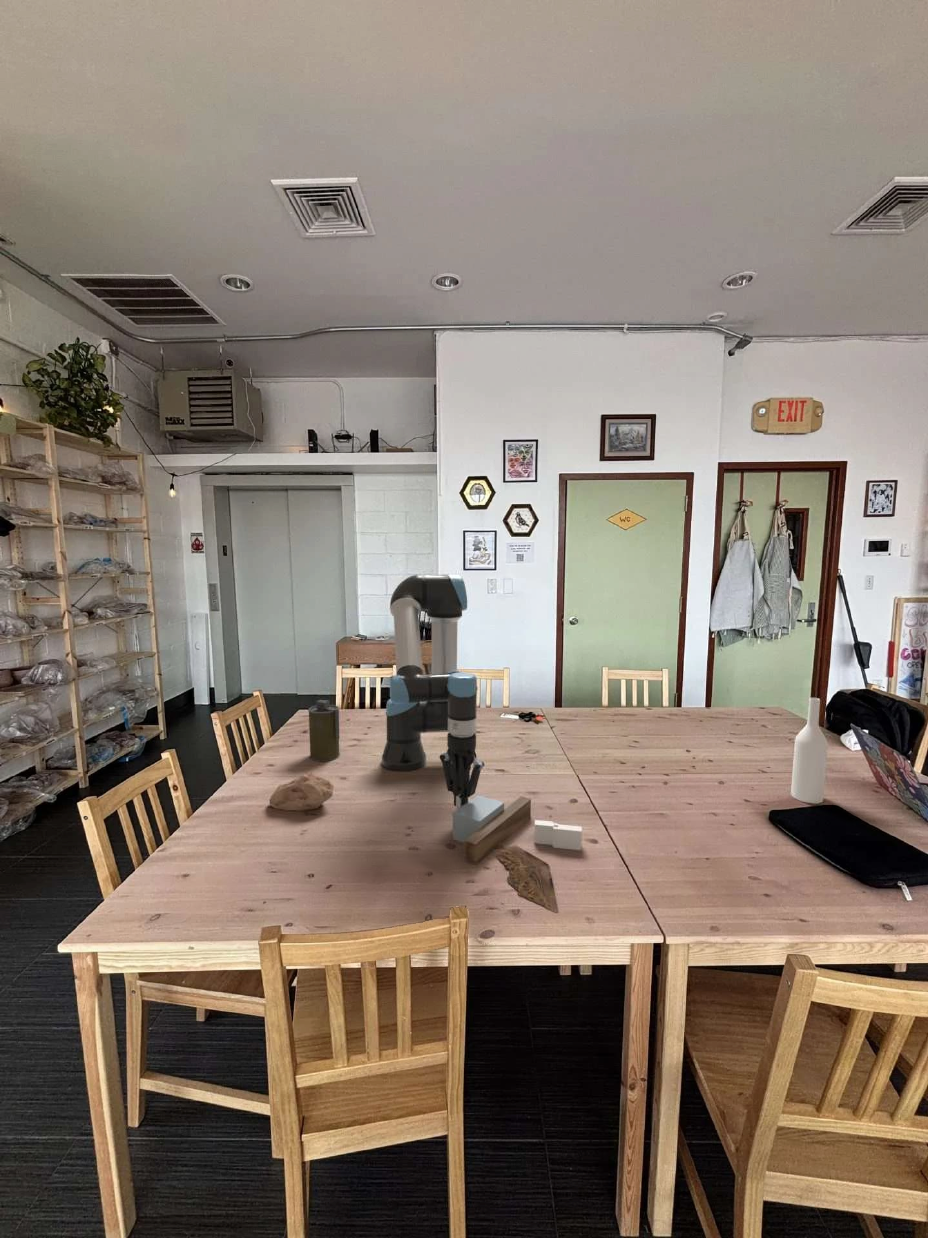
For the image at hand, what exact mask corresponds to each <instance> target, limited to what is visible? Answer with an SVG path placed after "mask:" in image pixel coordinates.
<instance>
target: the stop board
mask: <svg viewBox="0 0 928 1238" xmlns="http://www.w3.org/2000/svg"><path fill="white" fill-rule="evenodd" d="M531 807H532V799H531V798H529V797H526V796H521V795H520V796H519V797H518V798H517V799H515V800H514V801H512V803H510V804H509V805H507V807H506V808H505V807H504V810H503V811H502V812H500V813H499V814H498V815H497V816H495V817H494V818H493V819H492V820H490V821H489V822H488V823H486V824H485V825H484V826H483V827H481V828H480V829H479V830H478V831H476V832H475V833H474V834H472V835H471V836H470V837H469V838H467V839H466V840H465V843H464V861H465V862H467V863H470V864H472V865H477V864H479V862H480V861H481V860H483V859H484V858H485V857H486V856H487V855H488V854H489V853H491V852H492V851H493V850H494V849H495V848H497V847H498V846H499V844H501V843H502V842H503V841H504V840H505V839H507V838H508V837H509V836H510V835H511V834H512V833H514V831H516V830H517V829H518V828H520V826H521V825H523V823H525V822H526V821H527V820H528V819H530V817H531V815H532V814H531V813H532V812H531V809H532V808H531Z"/></svg>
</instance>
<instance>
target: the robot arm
mask: <svg viewBox="0 0 928 1238" xmlns="http://www.w3.org/2000/svg"><path fill="white" fill-rule="evenodd" d="M465 584H466V583H465V581H464V578H463V577H462V576H461V575H459V574H458V575H457V574H415V575H411V576H408V577H407V578H405V579H404V580H402V581H401V582H400V583H399V584H398V585H397V586H396V587H395V589H394V591H393V593H392V595H391V596H390V597H391V598H390V604H389V610H390V614H391V616H393V621H394V622H393V626H394V627H393V629H394V648H395V649H394V651H395V673H396V674H395V675H391V676H390V677H389V698H390V699H388V700H387V702H386V705H385V706H386V711H385V716H386V743H385V746H384V750H383V752H382V755H381V765H382V766H383V767H384V768H385V769H388V770H390V771H398V772H399V771H400V772H403V771H405V772H406V771H413V770H417V769H419V768H420V769H421V768H422V767H424V766H425V765H426V764H427V754H426V752H425V749H424V746H423V743H422V739H421V738H422V735H421V734H423V733H424V734H426V733H447V738H446V739H447V740H446V741H447V745H446V746H447V750H446V752H444V753H442V754H440V755H439V759H440V762H441V763H442V768H443V772H444V778H445V783H446V784H445V785H446V789H447V791H448V792H451V793H452V794H453V806H454V807H455V811H456V810H457V809H459V808H460V807H462V806H463V805H465V804H466V803H467V802H469V798H470V797H472V796H473V795H475V793H476V790H477V786H478V783H479V778H480V775H481V771H482V769H483V768H484V766H485V762H483V761H480V760H478V759H477V754H476V748H477V733H476V732H477V703H478V702H477V701H478V700H477V699H478V696H477V695H478V682H477V681H478V679H477V676H476V675H475V674H473V673H469V672H462V671H459V670H457V669H458V621H459V620H461V618H462V617H463V612H464V611H466V610H468V595H467V594H468V593H467V588H466V585H465ZM421 611H426V617H428V618H429V619H430V621H431V674H430V673H429V674H428V673H426V674H425V673H424V667H423V665H424V664H423V655H422V654H423V653H422V643H421V632H420V630H421V629H420V621H419V620H420V619H419V615H420V613H421ZM471 769H472V770H471ZM470 772H471V773H470Z"/></svg>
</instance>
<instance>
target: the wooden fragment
mask: <svg viewBox="0 0 928 1238" xmlns="http://www.w3.org/2000/svg"><path fill="white" fill-rule="evenodd" d="M495 858H496V859H497V860H499V861H500V863H502V864H503V866H504V869H505V870H507V871H508V873H509V875H508V876H507V878H506V879H507V882H508V884H509V885H511V886H512V888H514V889H515V890H516V892H517V895H518V896H519V897H521V898H523V899H525V900H527V901H528V902H529V901H530V902H533V903H535V904H538V905H540V906H541V907H544V908H545V909H546V910H548V911H549V912H552V913H556V914H557V913H558V914H559V906H558V902H557V897H556V893H555V892H556V891H555V887H554V886H555V885H554V882H553V877H552V872H551V867H550V865H549V864H548V863H547V862H546V861H544V860H542V859H540V858H538V857H537V856H535V855H534V854H532V853H530V852H529V851H526V850H525V849H523V848H521V847H520V846H519V845H517V844H512V845H510V846H508V847H506V848H505V849H503V850H500V851H498V853H497V854H496V855H495Z"/></svg>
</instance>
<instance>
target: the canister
mask: <svg viewBox="0 0 928 1238" xmlns="http://www.w3.org/2000/svg"><path fill="white" fill-rule="evenodd" d="M315 703H316V705H313V706H310V707H309V708H308V709H307V711H308V725H309V727H308V728H309V731H308V732H309V759H310V760H312V761H313V762H314V761H315V762H330V761H332V760H336V759H338V758H339V757H340V756H341V755H340V754H341V753H340V713H339V712H340V709H339V706H338V705H336V704H335V705H334V704H331V703H330V700H329V699H328V700H326V699H325V700H324V699H319V700H317V701H315Z"/></svg>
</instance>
